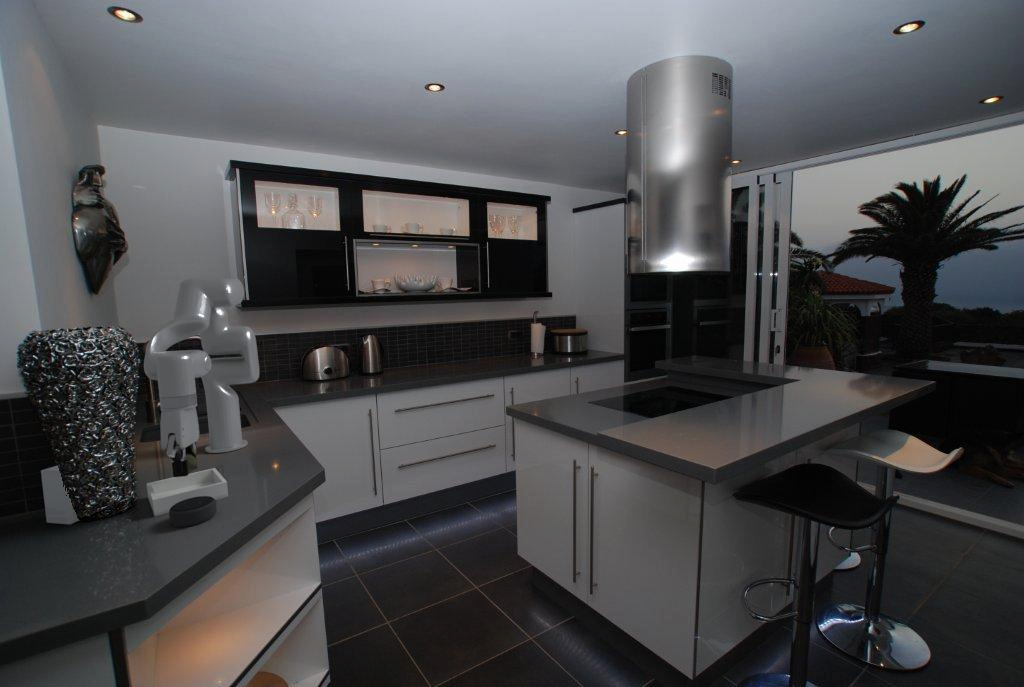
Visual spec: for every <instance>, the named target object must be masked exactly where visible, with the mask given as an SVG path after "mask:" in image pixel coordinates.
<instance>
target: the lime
mask: <svg viewBox="0 0 1024 687" xmlns="http://www.w3.org/2000/svg"><path fill="white" fill-rule="evenodd" d="M196 459H197V457H196V458H195V457H193V456H192V455H190V454H185V460H187V462H188V473H189V474H190V473H193V472H194V471H195V470H197V469H196V466H197V467H198V461H196Z"/></svg>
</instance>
